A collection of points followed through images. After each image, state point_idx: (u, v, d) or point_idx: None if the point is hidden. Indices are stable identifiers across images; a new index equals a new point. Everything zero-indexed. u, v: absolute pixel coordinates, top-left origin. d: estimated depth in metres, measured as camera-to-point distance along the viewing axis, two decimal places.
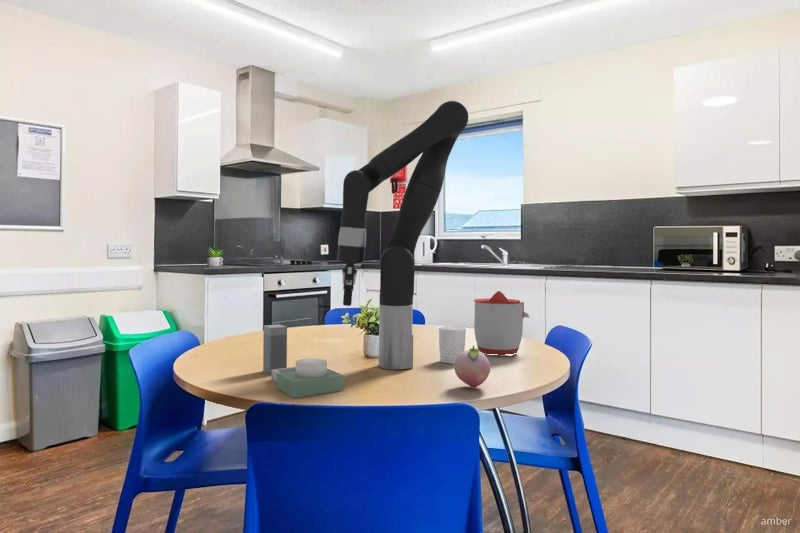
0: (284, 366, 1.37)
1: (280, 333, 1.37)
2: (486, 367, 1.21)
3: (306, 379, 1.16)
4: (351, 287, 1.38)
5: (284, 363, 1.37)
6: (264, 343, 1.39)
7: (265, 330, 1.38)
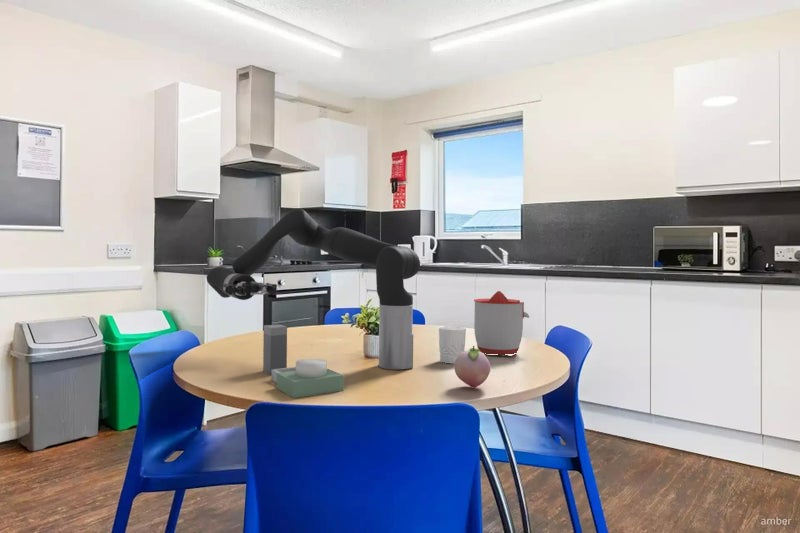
0: (284, 366, 1.37)
1: (280, 333, 1.37)
2: (486, 367, 1.21)
3: (306, 379, 1.16)
4: (228, 287, 1.47)
5: (284, 363, 1.37)
6: (264, 343, 1.39)
7: (265, 330, 1.38)
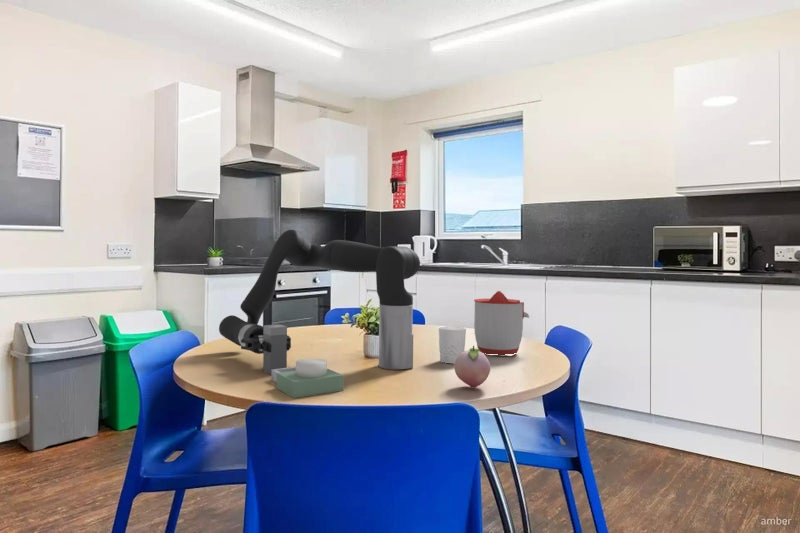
0: (284, 366, 1.37)
1: (280, 333, 1.37)
2: (486, 367, 1.21)
3: (306, 379, 1.16)
4: (252, 343, 1.37)
5: (284, 363, 1.37)
6: None
7: (265, 330, 1.38)
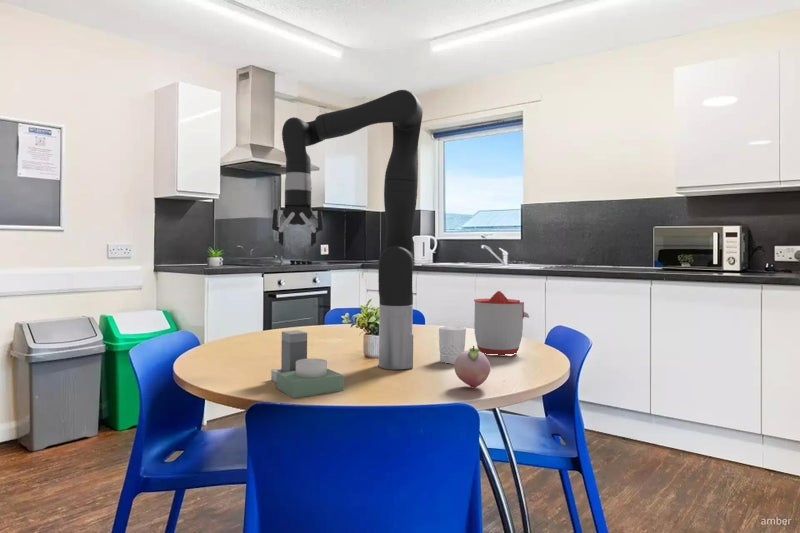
0: None
1: (300, 340, 1.27)
2: (486, 367, 1.21)
3: (306, 379, 1.16)
4: (272, 227, 1.52)
5: None
6: (282, 350, 1.29)
7: (283, 336, 1.28)
